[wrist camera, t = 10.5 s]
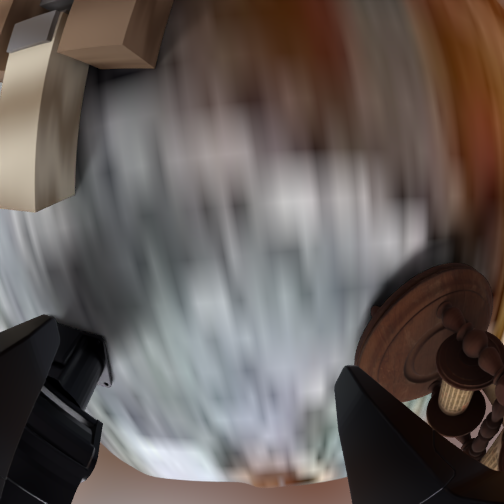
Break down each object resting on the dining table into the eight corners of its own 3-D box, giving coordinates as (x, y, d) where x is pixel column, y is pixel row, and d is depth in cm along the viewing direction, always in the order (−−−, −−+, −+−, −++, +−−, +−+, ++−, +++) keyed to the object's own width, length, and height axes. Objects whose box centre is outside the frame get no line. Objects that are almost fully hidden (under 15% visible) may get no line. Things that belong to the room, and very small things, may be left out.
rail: (76, 194, 18) (30, 214, 13) (36, 191, 17) (-10, 209, 12) (99, 28, 13) (60, 3, 8) (57, 36, 13) (14, 19, 8)
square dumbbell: (154, 68, 15) (122, 44, 10) (6, 82, 13) (-39, 80, 8) (179, -17, 12) (161, -59, 7) (28, 9, 11) (-10, -6, 6)
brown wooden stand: (469, 351, 25) (553, 473, 6) (356, 403, 26) (408, 568, 8) (482, 234, 20) (644, 360, 1) (337, 291, 21) (462, 564, 2)
